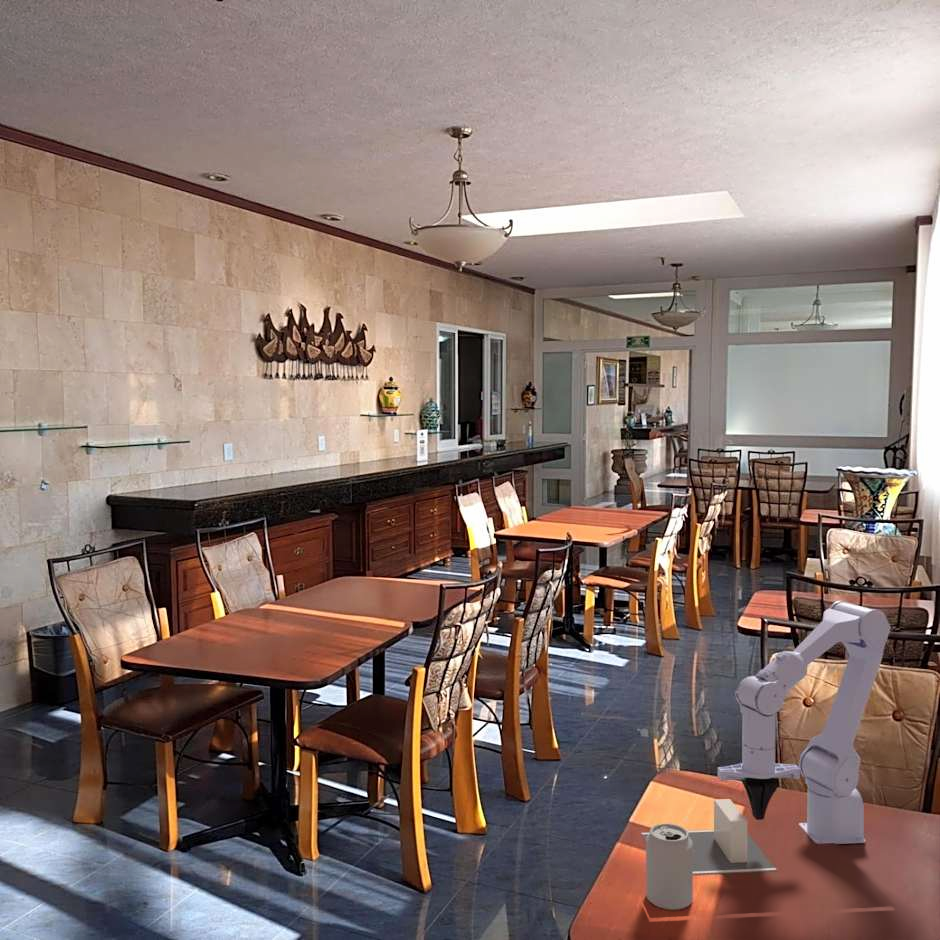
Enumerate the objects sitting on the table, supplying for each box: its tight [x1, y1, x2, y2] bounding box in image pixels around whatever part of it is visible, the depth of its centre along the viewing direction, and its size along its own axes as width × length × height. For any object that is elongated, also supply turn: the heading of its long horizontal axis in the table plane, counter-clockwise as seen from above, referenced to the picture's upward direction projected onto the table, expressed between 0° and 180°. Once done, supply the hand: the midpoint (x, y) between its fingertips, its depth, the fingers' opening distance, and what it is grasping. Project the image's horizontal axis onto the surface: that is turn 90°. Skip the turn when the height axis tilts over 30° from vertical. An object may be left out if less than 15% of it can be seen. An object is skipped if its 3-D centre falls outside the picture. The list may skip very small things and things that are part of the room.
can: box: [645, 823, 694, 911], centre depth 146 cm, size 8×8×12 cm
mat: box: [640, 829, 778, 876], centre depth 162 cm, size 20×16×1 cm
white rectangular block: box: [713, 798, 748, 863], centre depth 162 cm, size 3×9×8 cm, turn 3°
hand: (758, 817), depth 162 cm, fingers closed
